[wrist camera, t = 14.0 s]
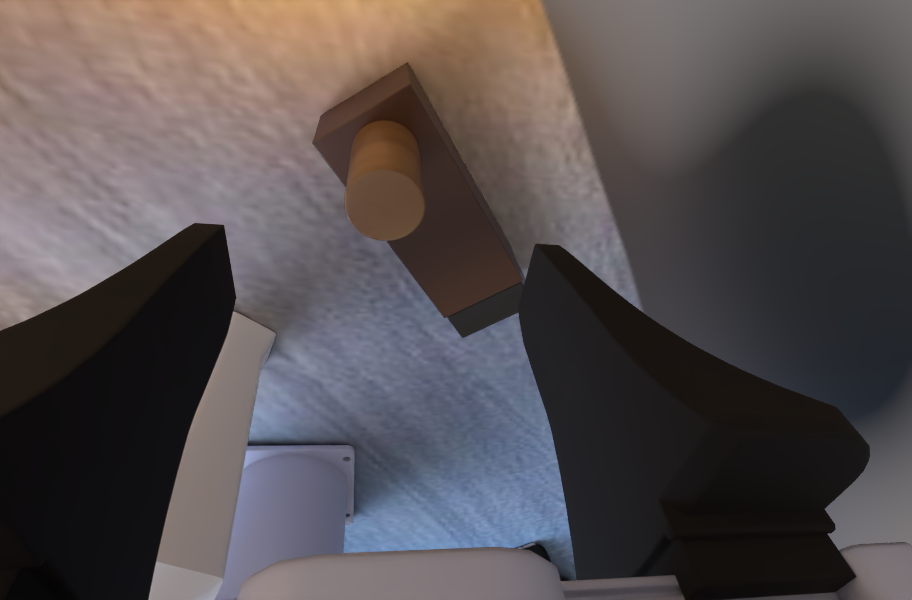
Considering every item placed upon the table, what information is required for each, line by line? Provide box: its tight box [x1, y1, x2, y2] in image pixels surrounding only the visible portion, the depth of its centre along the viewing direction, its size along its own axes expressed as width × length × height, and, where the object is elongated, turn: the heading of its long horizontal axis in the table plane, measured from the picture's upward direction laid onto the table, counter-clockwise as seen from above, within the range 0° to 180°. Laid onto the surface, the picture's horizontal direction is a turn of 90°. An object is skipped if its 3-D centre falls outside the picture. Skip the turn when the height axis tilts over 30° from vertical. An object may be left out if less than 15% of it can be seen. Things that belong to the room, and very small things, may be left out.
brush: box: [313, 63, 525, 338], centre depth 20 cm, size 11×4×7 cm, turn 28°
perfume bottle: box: [148, 311, 276, 600], centre depth 21 cm, size 5×4×15 cm
